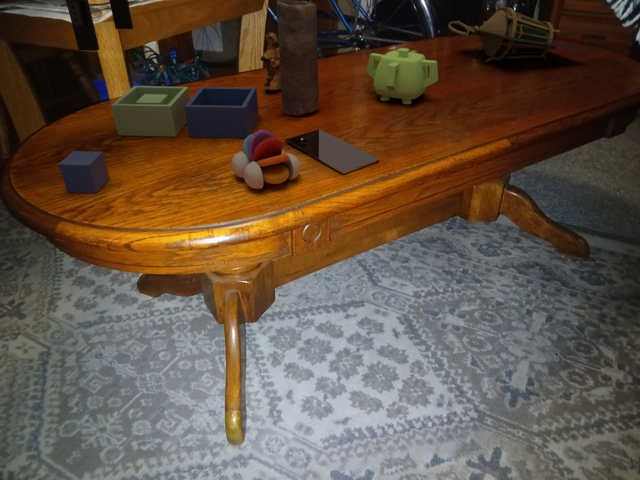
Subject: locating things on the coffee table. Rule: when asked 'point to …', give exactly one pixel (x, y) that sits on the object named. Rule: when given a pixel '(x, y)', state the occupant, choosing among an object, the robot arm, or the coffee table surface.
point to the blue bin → (222, 112)
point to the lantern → (513, 35)
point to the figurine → (271, 64)
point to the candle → (298, 56)
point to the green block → (154, 99)
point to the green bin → (151, 112)
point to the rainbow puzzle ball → (264, 161)
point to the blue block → (84, 171)
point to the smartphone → (332, 151)
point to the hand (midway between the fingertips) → (108, 38)
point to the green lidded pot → (401, 74)
